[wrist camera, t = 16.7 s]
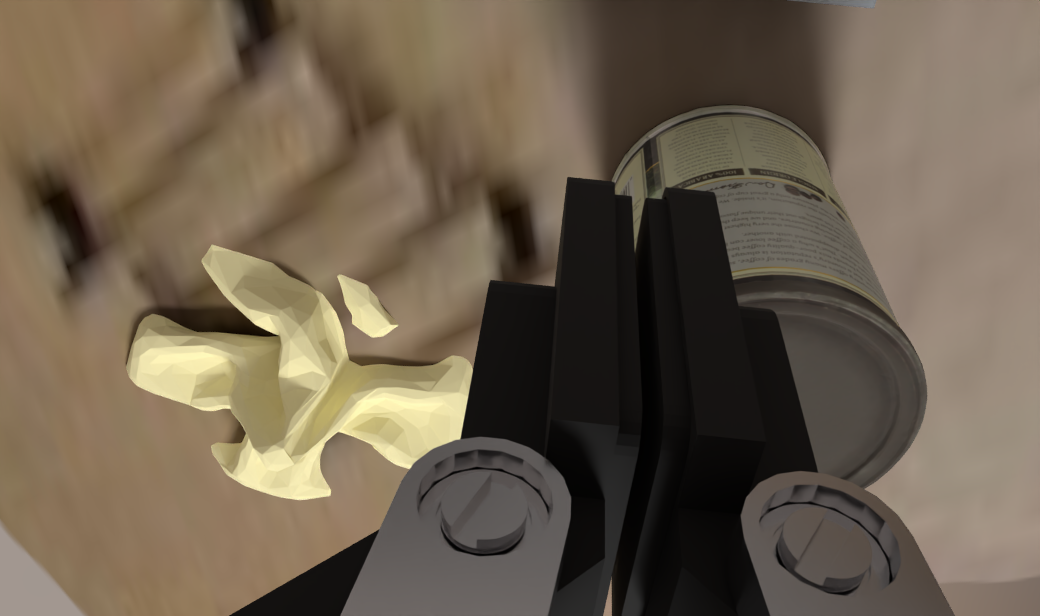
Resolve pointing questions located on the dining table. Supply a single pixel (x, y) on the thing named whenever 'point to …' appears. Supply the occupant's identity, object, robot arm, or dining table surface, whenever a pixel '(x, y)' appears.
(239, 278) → the cloth
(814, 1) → the switch board
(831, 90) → the dining table surface
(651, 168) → the coffee can
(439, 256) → the dining table surface
